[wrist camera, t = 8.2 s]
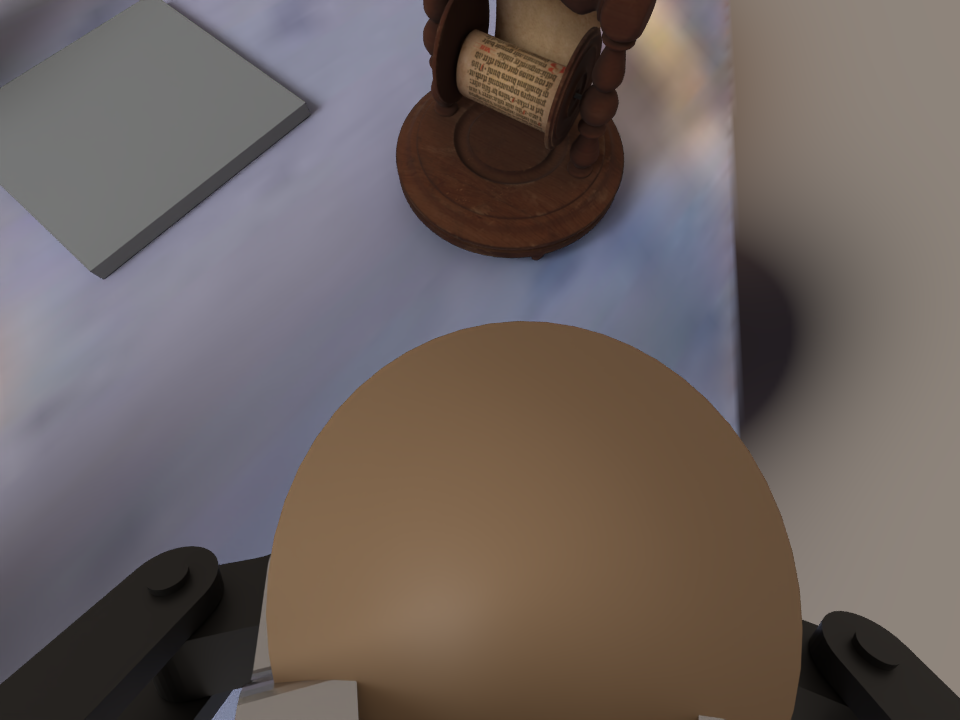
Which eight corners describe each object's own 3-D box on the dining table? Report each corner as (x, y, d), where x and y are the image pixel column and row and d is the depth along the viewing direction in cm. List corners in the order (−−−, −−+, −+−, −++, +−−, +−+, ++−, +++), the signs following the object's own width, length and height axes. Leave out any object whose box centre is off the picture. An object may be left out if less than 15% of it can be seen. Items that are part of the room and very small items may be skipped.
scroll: (645, 148, 31) (906, -403, 12) (553, 308, 27) (728, -148, 8) (470, 72, 33) (461, -493, 15) (360, 209, 29) (147, -327, 10)
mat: (103, 279, 28) (90, 271, 27) (-45, 137, 31) (-61, 125, 30) (310, 114, 32) (305, 102, 31) (160, 6, 36) (151, -7, 35)
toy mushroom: (585, 644, 14) (848, 957, 4) (384, 624, 14) (192, 888, 4) (587, 442, 16) (767, 343, 6) (413, 425, 16) (328, 301, 6)
